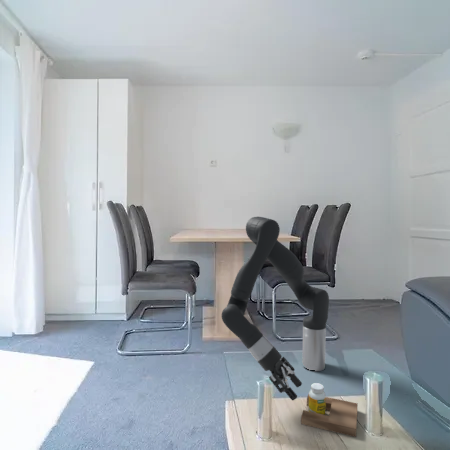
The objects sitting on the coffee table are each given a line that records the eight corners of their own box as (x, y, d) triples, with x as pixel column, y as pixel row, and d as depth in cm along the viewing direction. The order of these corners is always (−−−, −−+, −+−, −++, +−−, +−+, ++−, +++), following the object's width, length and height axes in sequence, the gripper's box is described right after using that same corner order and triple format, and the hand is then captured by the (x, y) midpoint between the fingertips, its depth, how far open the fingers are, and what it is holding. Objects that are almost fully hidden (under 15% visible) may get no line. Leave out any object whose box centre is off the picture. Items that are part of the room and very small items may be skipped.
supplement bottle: (316, 407, 120) (316, 380, 119) (328, 415, 115) (329, 387, 115) (304, 412, 117) (305, 384, 116) (317, 421, 112) (318, 392, 112)
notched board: (308, 400, 124) (308, 393, 124) (357, 410, 118) (357, 403, 118) (301, 423, 111) (301, 416, 111) (355, 436, 105) (356, 428, 105)
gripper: (266, 355, 114) (302, 397, 110) (277, 338, 127) (309, 375, 123) (250, 368, 116) (285, 409, 113) (262, 350, 129) (293, 387, 126)
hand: (297, 391), depth 118 cm, fingers open, 8 cm apart
